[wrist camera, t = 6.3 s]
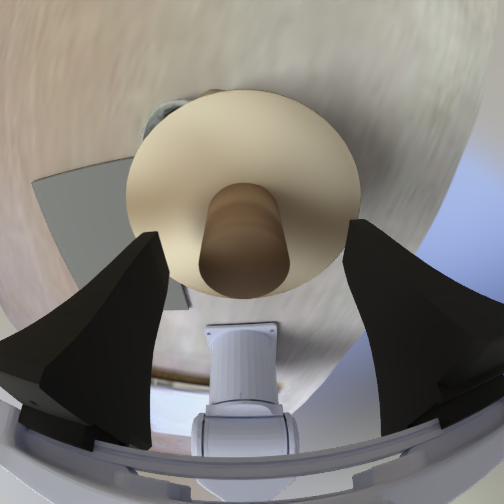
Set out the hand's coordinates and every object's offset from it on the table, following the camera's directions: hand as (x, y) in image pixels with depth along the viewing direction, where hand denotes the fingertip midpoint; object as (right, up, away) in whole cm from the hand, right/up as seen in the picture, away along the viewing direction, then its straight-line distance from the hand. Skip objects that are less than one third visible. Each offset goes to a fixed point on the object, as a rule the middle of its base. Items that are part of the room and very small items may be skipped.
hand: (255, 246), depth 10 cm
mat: (-13, 0, +13) cm, 18 cm away
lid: (-1, +2, +2) cm, 3 cm away
